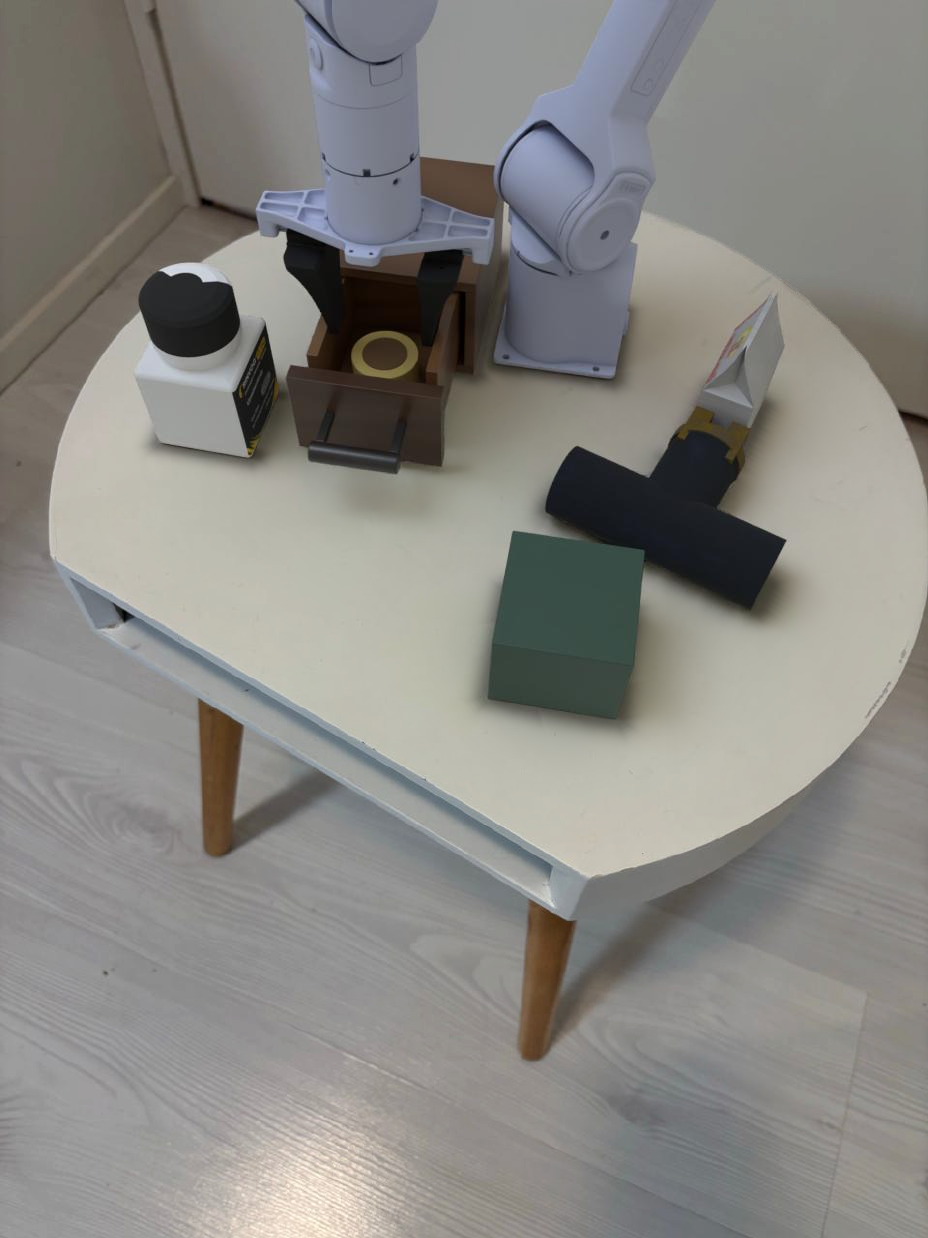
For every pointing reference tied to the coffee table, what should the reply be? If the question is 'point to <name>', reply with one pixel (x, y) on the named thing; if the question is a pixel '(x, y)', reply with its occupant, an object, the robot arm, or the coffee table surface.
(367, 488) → the coffee table surface
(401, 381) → the drawer
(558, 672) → the block
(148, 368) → the medicine bottle
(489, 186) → the cabinet
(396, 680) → the coffee table surface
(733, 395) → the white juice carton
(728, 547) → the pipe connector
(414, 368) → the tape
